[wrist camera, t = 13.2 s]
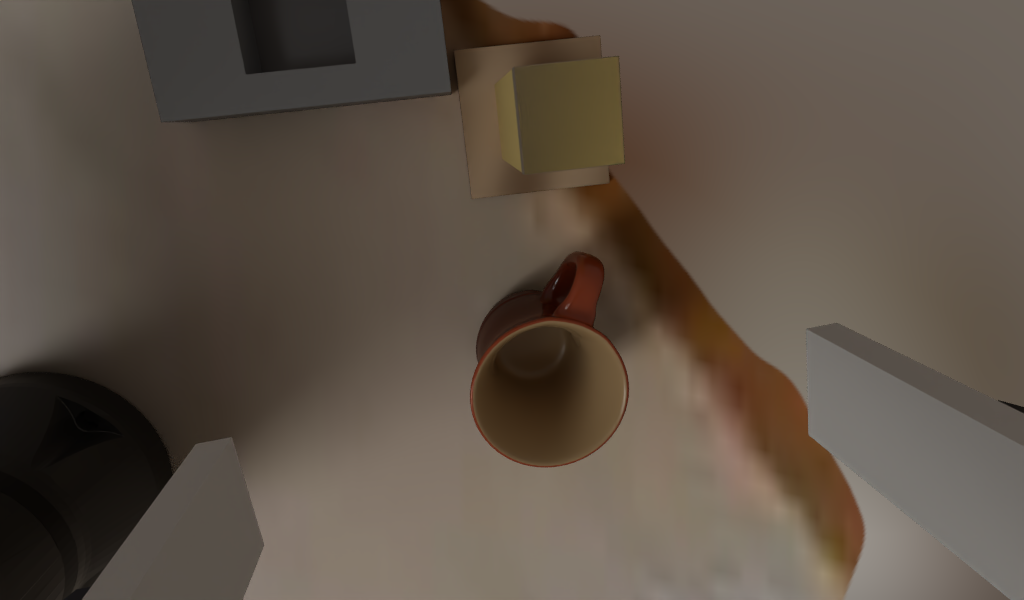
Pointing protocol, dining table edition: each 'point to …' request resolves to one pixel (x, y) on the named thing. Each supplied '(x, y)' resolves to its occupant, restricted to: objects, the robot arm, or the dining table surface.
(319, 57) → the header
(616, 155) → the plug
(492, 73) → the pad
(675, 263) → the dining table surface
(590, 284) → the mug
